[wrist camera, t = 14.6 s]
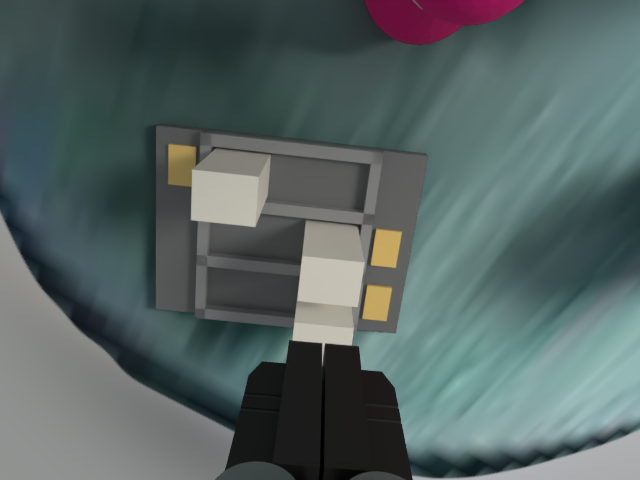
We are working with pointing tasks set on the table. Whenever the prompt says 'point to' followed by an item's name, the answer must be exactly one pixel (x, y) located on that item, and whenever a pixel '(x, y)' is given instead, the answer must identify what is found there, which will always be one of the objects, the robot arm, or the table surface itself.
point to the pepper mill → (433, 17)
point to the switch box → (283, 227)
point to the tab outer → (323, 323)
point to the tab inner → (230, 187)
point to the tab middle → (331, 264)
